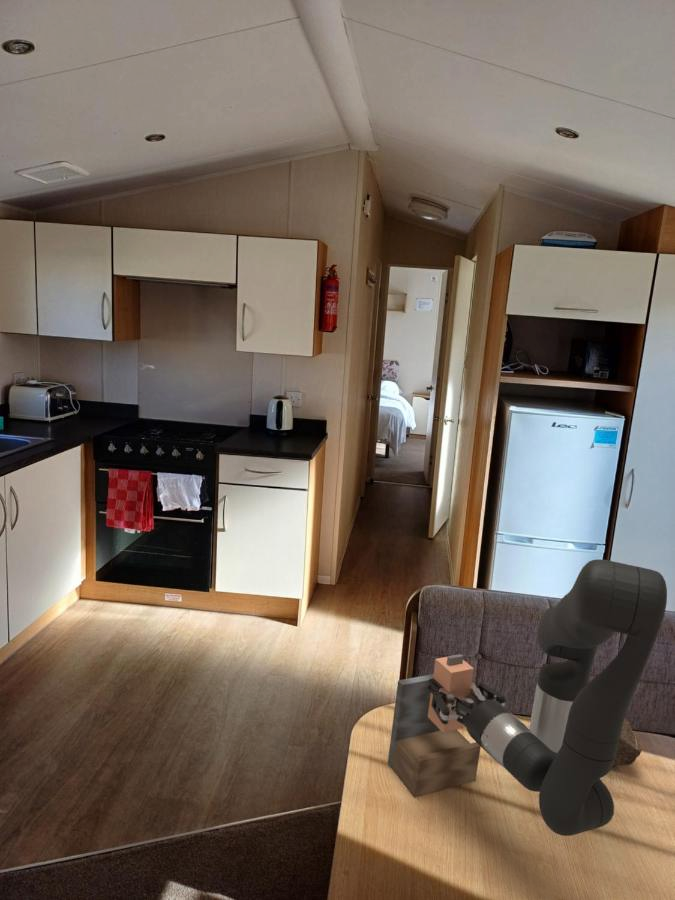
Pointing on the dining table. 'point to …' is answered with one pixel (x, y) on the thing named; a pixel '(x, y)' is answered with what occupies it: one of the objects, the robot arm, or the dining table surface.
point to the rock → (627, 746)
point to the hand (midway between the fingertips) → (442, 680)
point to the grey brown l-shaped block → (427, 744)
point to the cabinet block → (451, 685)
